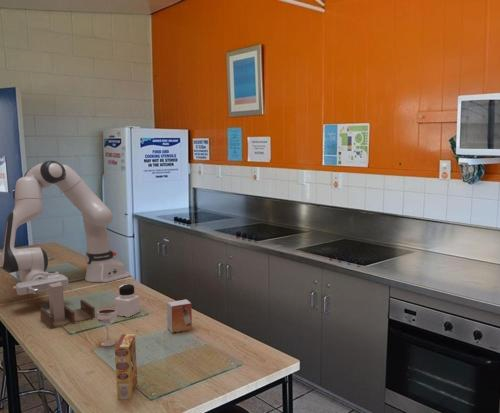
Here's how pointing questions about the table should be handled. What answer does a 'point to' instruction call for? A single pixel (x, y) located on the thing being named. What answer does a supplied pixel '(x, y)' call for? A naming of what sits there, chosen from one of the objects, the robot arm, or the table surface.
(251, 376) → the table surface
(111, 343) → the wineglass
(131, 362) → the candy box
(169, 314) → the small box
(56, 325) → the rack
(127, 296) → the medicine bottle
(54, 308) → the tall gray rectangular block
